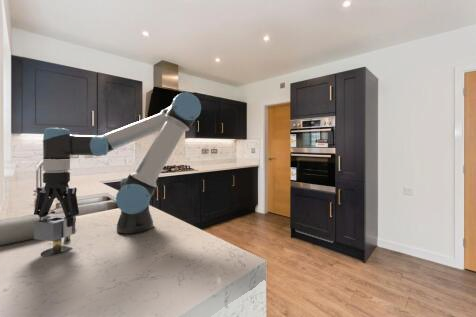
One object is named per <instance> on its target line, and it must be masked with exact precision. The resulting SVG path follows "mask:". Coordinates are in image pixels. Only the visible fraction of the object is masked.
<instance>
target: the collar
mask: <svg viewBox="0 0 476 317" xmlns="http://www.w3.org/2000/svg"><path fill="white" fill-rule="evenodd" d="M64 217H65V216H54V217H50V218H46V219H42V220H38V221H34V239H33V240H38V241H39V240H40V241H49V242H53V241H55V240H58V239H61V238H62V239H64V237H63V218H64ZM75 234H76V222H75V217H73V226H72V235H75Z"/></svg>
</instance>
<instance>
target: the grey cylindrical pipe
mask: <svg viewBox="0 0 476 317" xmlns="http://www.w3.org/2000/svg"><path fill="white" fill-rule="evenodd" d="M49 213H50V212H49ZM69 214H70V213H69ZM49 215H50V217H54V216H65V214H64V212H61V213H58V214H56V213H55V214H51V213H50V214H49ZM47 216H48V215H47ZM76 216H77V215H76ZM76 216H74V217H75V223H76V222H77V217H76ZM38 220H40V217H39V216H38V215H35V214H34V213H33V214H29V215H22V216H17V217H9V218H3V219H0V246H4V245H5V244H6V245H11V244H15V242H16V243H20V241H21V242H26V241H30V239H31V240H35V239H34V221H38ZM25 240H26V241H25ZM10 243H11V244H10ZM6 245H5V246H6Z"/></svg>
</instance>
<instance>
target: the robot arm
mask: <svg viewBox="0 0 476 317" xmlns="http://www.w3.org/2000/svg"><path fill="white" fill-rule="evenodd" d="M201 110H202V104H201V101H200V100H199V98H198V97H197V96H195V95H194V94H193V93H190V92H181V93H179V94H177V95H176V96H174V98H173V99H172V102H171V104H170V106H168V107H166V108H164V109H161V110H160V112H159V113H156V114H154V115H152V116H149V117H147V118H144V119H141V120H139V121H136V122H133V123H130V124H128V125H125V126H123V127H120V128H117V129H114V130H112V131H109V132H107V133H105V134H101V135H98V134H97V135H87V134H85V135H81V134H80V135H79V134H71V130H70V129H68V128H61V127H60V128H59V127H47V128H45V129H44V131H43V136H42V137H43V140H42V154H43V155H42V156H43V158H42V171H43V173H42V183H43V184H45V185H44V186H40V187H37V188H36V199H35V205H34V211H33V214H35V215H38V216H39V217H40V220H42V219H46V218H50V215H49V213H50V211H51V208H52V206H53V204H54V203H53V202H54V201H55V199H56V200H57V201H58V202H59V203H60V206H61V209H62V210H63V213H64V214H65V217H64V218H63V237H67V236H69V235H70V236H71V235H73V234H72V226H73V217H74V216H78V215H79V214H80V210H79V204H78V198H77V187H70V186H69V182H71V172H69V171H70V170H71V156H90V157H91V156H92V157H93V156H95V157H101V156H107V155H108V153H110V152H112V151H115V150H116V149H119V148H122V147H124V146H126V145H129V144H131V143H134V142H136V141H139V140H141V139H144V138H146V137H148V136H151V135H153V134H156V133H158V134H157V136H156V137H155V139H154V140H153V142H152V144H151V145H150V147H149V149H148V151H147V152H146V154H145V156H144V158H143V159H142V161H141V163H140V164H139V166H138V167H137V168H136V171H134V172H131V173H129V175H128V176H127V177H124V178H121V179H120V180H121V181H120V183H119V184H120V189H119V190H118V191H117V192H116V194H115V195H116V197H115V202H116V205H117V207H118V209H119V210H120V214H119V217H118V218H119V219H118V221H117V225H116V232H117V233H119V234H120V233H121V234H136V233H142V232H146V231H148V230H151V229H152V228H153V227H154V220H153V218H152V214H151V212H150V202H151V198H152V196H153V195H154V192H155V191H156V189H157V187H158V185H157V184H158V183H157V181H158V178H159V177H160V175H161V173H162V171H163V169H164V167H165V166H166V164H167V162H168V160H169V159H170V157H171V156H172V153H173V152H174V150H175V149H176V146H177V145H178V144H179V141H180V139H181V138H182V136H183V134H184V132H189V130H190V129H191V127H192V125H193V124H194V122H195V121H196V119H197V118H199V116H200V114H201V112H202V111H201ZM69 213H70V214H69ZM47 215H48V216H47Z"/></svg>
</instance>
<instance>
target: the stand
mask: <svg viewBox="0 0 476 317" xmlns="http://www.w3.org/2000/svg"><path fill="white" fill-rule="evenodd" d="M63 241H64V242H69V241H71V235H69V236H67V237H64V238H63ZM46 245H48V246H51V245H52V246H53V242H49V243H47V244H46Z"/></svg>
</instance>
